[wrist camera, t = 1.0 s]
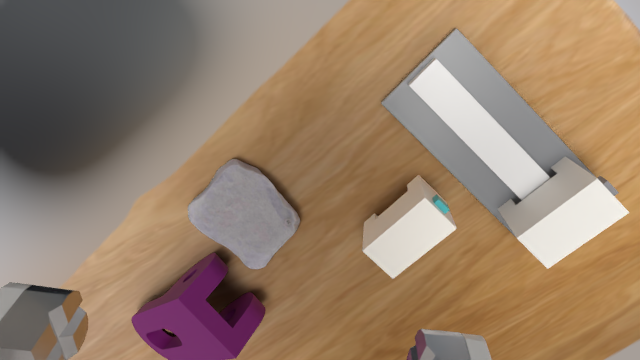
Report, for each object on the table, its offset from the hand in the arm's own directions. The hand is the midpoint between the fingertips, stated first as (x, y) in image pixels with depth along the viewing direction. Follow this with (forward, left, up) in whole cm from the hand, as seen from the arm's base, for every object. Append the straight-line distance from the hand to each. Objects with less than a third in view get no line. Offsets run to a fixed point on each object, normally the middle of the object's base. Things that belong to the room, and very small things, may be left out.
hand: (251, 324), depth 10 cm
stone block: (-1, +18, -38) cm, 42 cm away
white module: (-14, +5, -37) cm, 40 cm away
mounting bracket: (-5, +34, -38) cm, 51 cm away
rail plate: (-14, -7, -37) cm, 40 cm away
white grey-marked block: (-23, -7, -36) cm, 43 cm away
